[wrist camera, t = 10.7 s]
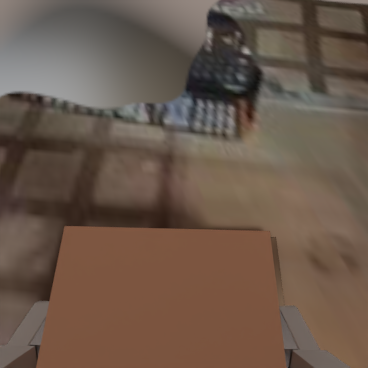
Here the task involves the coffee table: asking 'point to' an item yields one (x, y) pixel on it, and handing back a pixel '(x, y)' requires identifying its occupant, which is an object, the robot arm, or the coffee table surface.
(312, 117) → the coffee table surface
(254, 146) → the coffee table surface
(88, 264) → the post
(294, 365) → the robot arm
